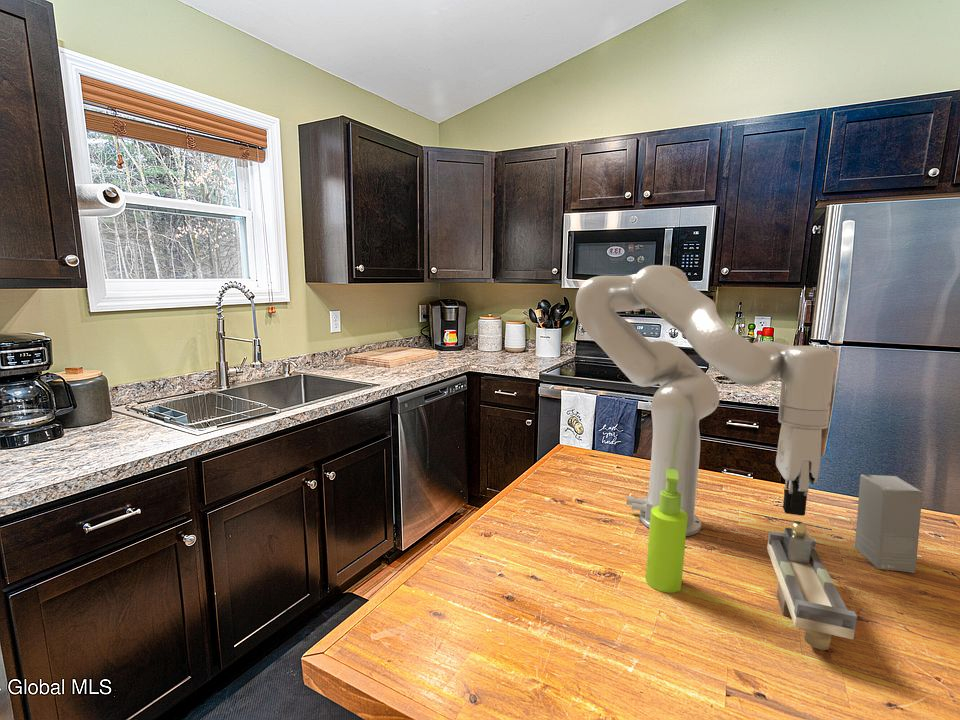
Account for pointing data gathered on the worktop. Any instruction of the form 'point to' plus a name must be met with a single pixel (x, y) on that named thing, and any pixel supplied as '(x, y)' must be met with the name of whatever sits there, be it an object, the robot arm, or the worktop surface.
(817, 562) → the stand
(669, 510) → the soap dispenser
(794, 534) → the rider
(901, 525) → the skincare box
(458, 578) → the worktop surface
